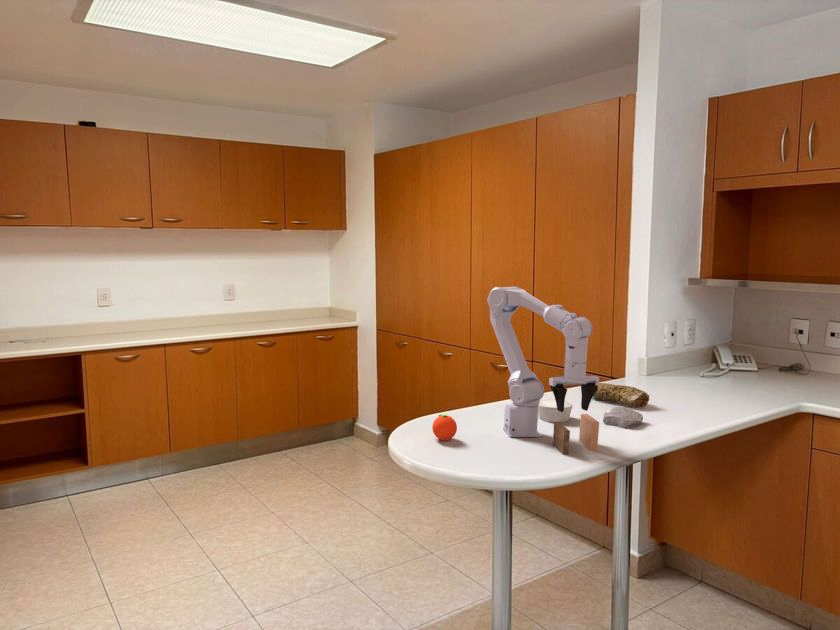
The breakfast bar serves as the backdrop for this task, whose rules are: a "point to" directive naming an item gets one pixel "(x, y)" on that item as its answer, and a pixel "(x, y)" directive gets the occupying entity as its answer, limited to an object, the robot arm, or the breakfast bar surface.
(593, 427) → the terracotta tile
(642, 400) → the mossy brown rock
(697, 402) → the breakfast bar surface
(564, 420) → the ramekin
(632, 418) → the stone block
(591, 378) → the robot arm
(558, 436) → the brown wooden block
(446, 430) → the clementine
